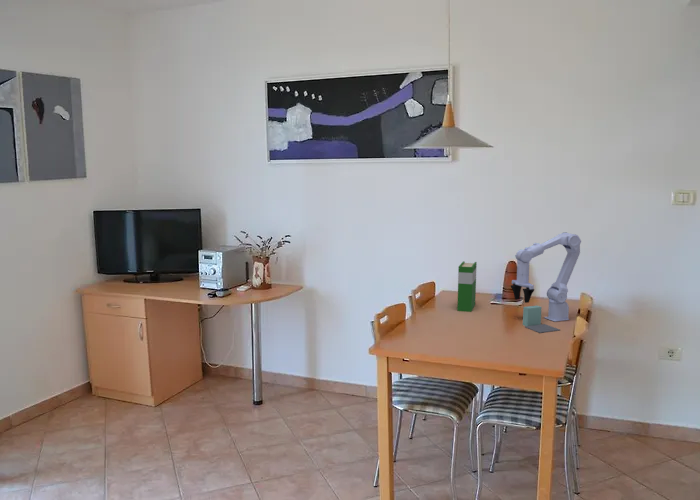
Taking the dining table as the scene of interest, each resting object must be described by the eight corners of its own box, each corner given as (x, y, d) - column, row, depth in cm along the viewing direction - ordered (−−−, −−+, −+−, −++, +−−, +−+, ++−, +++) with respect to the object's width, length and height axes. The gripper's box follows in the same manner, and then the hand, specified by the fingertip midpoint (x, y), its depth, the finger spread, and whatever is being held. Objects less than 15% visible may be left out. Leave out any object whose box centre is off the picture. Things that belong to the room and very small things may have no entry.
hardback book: (461, 303, 341) (463, 261, 337) (475, 304, 338) (476, 262, 335) (457, 310, 324) (458, 266, 321) (471, 312, 322) (472, 267, 318)
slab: (535, 323, 300) (536, 305, 299) (540, 325, 296) (541, 307, 295) (522, 324, 297) (523, 306, 296) (527, 326, 293) (528, 308, 292)
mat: (544, 324, 297) (544, 323, 297) (560, 330, 287) (560, 329, 287) (524, 327, 292) (524, 326, 292) (539, 333, 282) (539, 332, 282)
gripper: (507, 272, 305) (506, 298, 307) (525, 277, 292) (524, 304, 294) (518, 271, 308) (517, 297, 310) (537, 276, 295) (536, 303, 297)
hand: (521, 300), depth 302 cm, fingers open, 7 cm apart
